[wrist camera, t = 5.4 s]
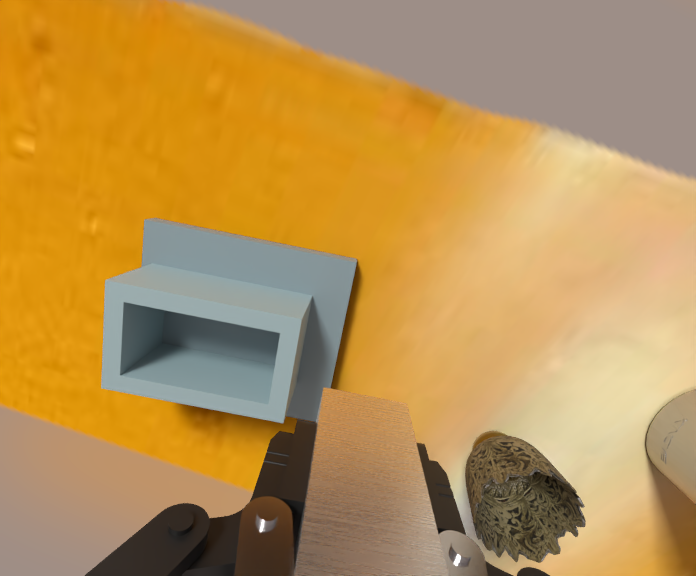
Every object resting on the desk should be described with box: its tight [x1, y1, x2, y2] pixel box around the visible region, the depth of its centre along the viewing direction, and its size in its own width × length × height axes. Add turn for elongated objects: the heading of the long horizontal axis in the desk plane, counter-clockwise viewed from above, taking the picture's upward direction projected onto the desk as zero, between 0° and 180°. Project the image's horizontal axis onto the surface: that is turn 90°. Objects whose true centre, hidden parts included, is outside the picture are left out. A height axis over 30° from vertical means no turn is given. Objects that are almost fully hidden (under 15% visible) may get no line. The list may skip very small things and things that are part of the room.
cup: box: [465, 431, 585, 563], centre depth 30 cm, size 8×7×8 cm
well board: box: [101, 218, 357, 423], centre depth 28 cm, size 16×14×7 cm
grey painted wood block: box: [294, 387, 449, 576], centre depth 11 cm, size 3×6×8 cm, turn 168°
